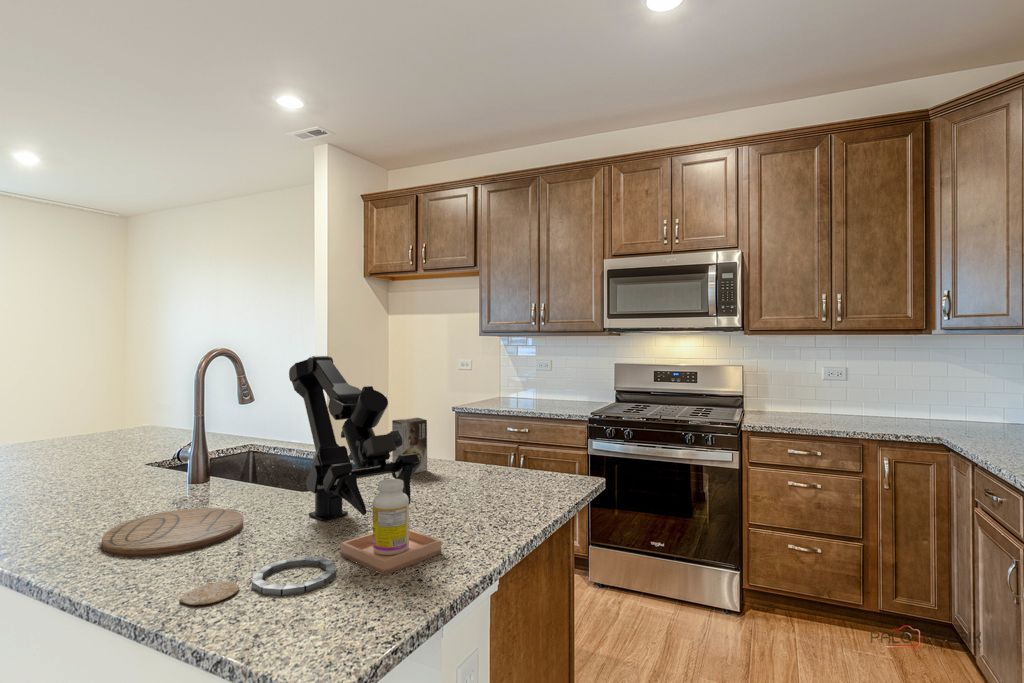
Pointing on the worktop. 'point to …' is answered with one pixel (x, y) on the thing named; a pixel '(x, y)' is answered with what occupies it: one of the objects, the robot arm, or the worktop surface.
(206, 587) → the flatbread
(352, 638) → the worktop surface
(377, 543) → the supplement bottle
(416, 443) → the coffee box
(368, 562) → the tray
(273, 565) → the seat ring
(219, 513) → the trivet
